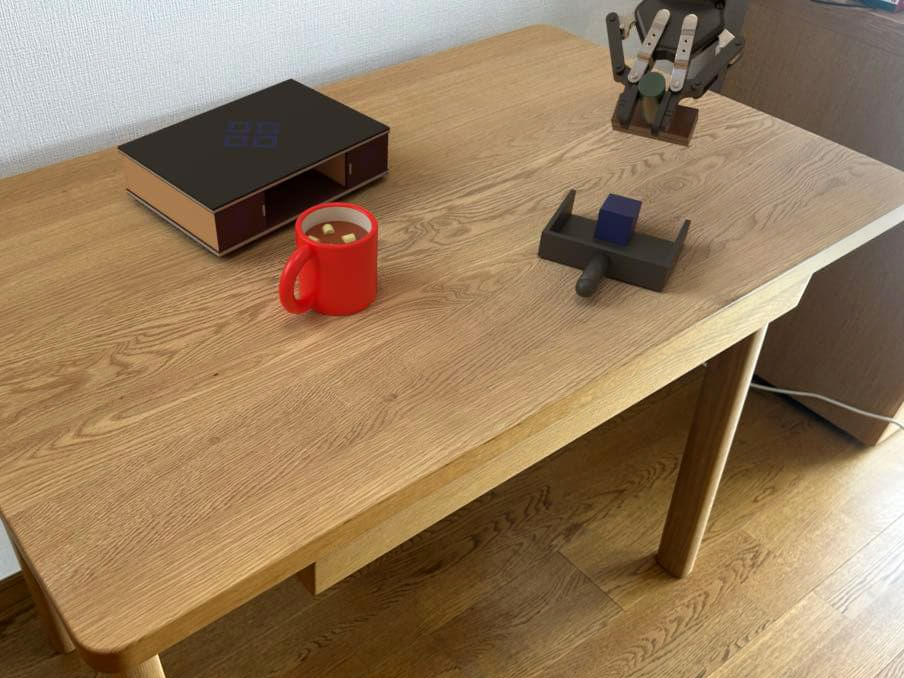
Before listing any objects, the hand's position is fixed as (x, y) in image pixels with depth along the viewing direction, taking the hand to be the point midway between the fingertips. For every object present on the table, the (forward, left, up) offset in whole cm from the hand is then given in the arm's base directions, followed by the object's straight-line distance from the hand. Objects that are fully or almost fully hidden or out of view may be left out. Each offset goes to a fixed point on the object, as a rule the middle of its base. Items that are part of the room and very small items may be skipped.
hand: (639, 129), depth 83 cm
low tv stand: (+40, +1, -14) cm, 43 cm away
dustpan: (0, +3, -14) cm, 14 cm away
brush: (-1, -9, -4) cm, 10 cm away
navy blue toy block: (0, -5, -12) cm, 13 cm away
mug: (+25, +18, -14) cm, 34 cm away
